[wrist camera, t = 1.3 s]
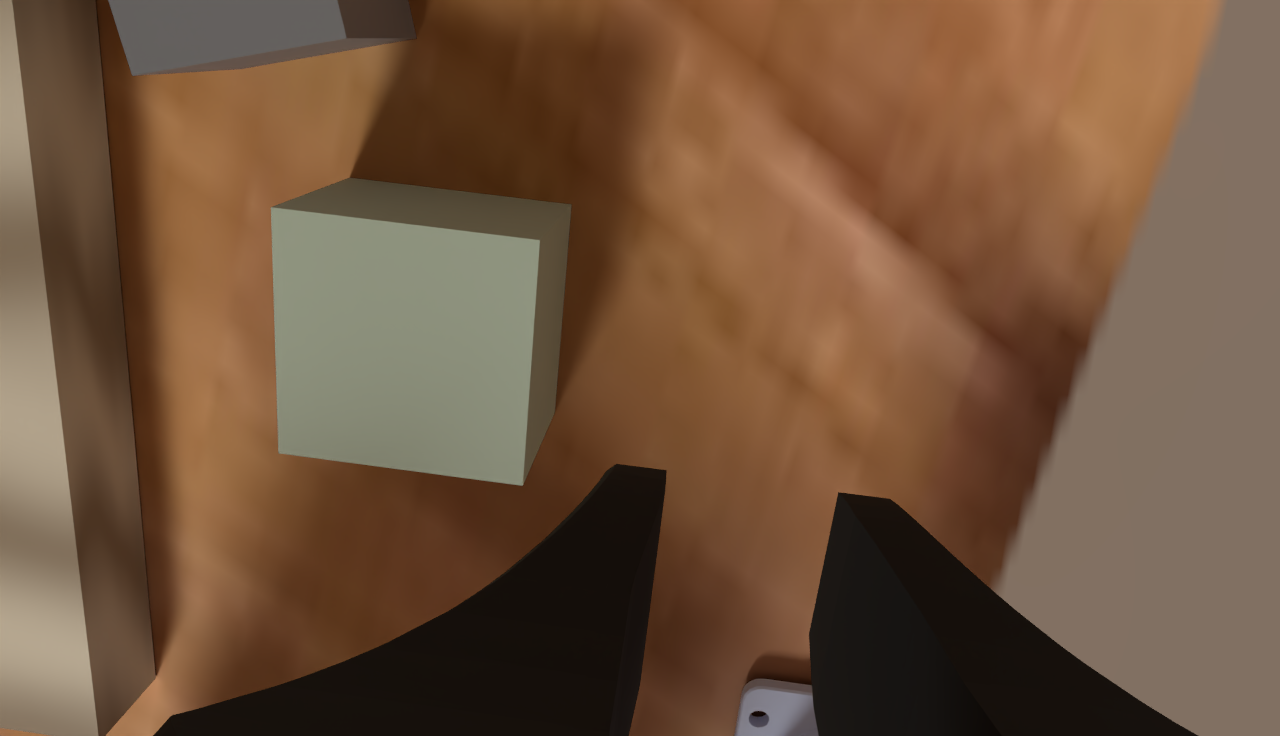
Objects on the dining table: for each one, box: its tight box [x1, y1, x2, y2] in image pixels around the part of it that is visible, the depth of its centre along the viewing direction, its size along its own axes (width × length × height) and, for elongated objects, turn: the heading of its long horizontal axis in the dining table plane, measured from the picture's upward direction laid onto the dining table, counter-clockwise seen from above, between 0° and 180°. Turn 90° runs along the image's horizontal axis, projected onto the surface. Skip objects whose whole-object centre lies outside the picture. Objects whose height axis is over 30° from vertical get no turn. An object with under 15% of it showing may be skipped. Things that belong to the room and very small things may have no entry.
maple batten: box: [0, 0, 156, 736], centre depth 21 cm, size 24×3×2 cm, turn 174°
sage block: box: [271, 178, 572, 486], centre depth 20 cm, size 5×5×4 cm
